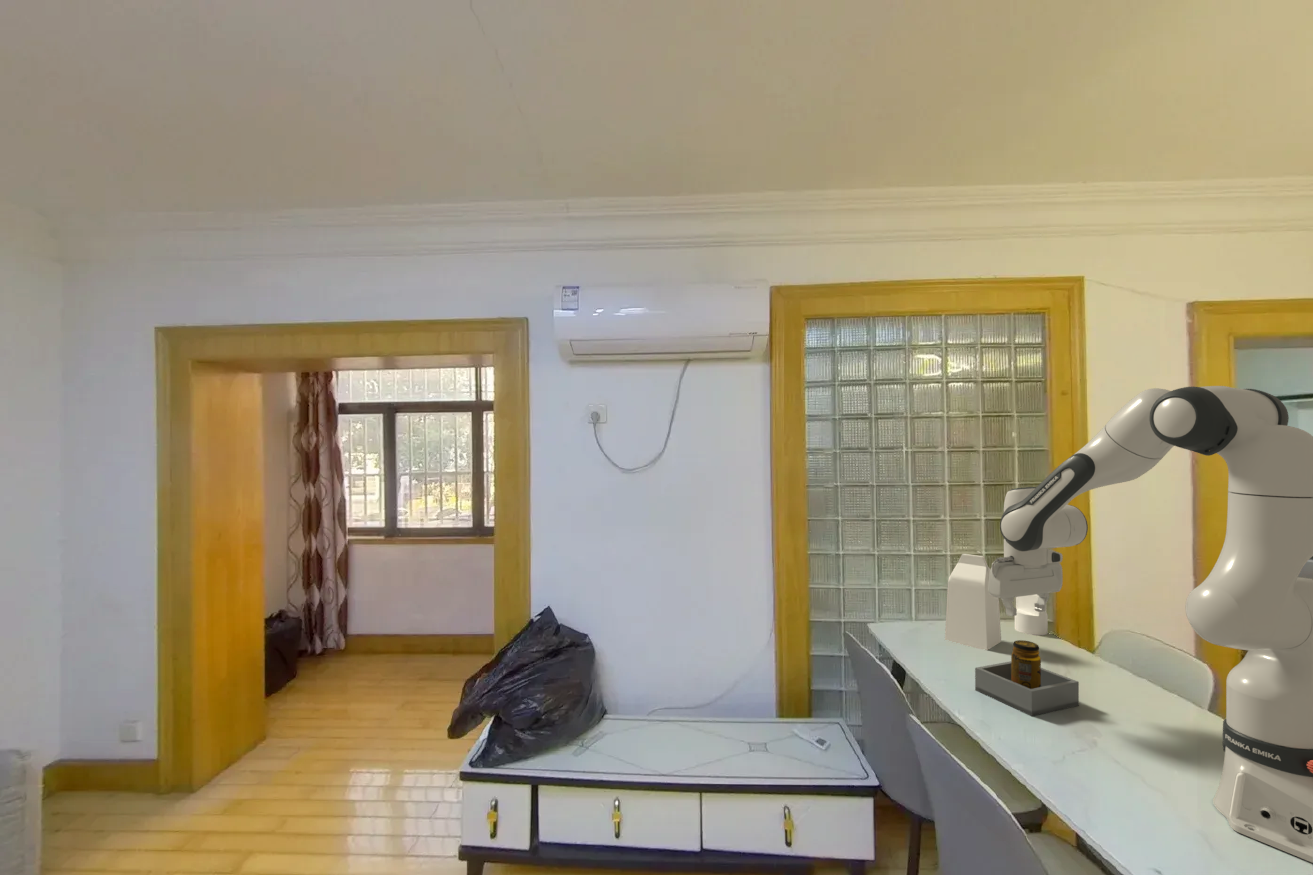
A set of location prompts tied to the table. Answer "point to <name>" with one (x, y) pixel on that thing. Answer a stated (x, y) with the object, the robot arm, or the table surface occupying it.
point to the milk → (972, 605)
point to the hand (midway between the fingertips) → (1025, 613)
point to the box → (1027, 690)
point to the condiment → (1026, 664)
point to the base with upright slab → (1030, 616)
